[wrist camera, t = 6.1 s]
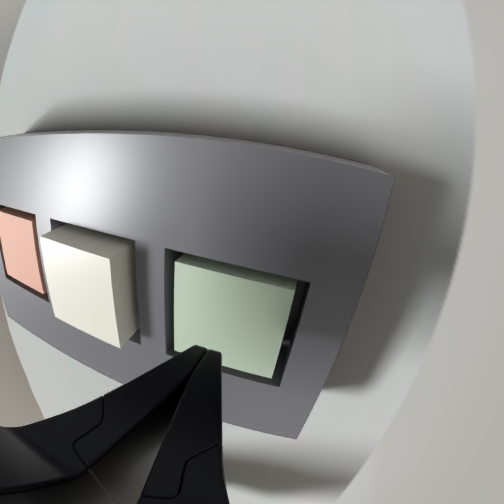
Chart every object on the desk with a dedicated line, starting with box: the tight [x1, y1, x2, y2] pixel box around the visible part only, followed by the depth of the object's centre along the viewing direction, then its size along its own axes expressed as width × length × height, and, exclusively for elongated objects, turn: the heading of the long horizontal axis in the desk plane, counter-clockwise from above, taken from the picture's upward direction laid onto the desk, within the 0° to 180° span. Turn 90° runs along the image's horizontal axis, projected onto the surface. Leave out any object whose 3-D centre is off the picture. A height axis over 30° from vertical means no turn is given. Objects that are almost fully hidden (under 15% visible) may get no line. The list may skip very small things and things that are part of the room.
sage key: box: [174, 253, 297, 378], centre depth 11 cm, size 4×4×2 cm
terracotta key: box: [0, 207, 47, 294], centre depth 13 cm, size 4×4×2 cm
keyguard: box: [0, 130, 394, 439], centre depth 13 cm, size 12×20×4 cm, turn 82°
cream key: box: [40, 223, 140, 349], centre depth 11 cm, size 4×4×2 cm
